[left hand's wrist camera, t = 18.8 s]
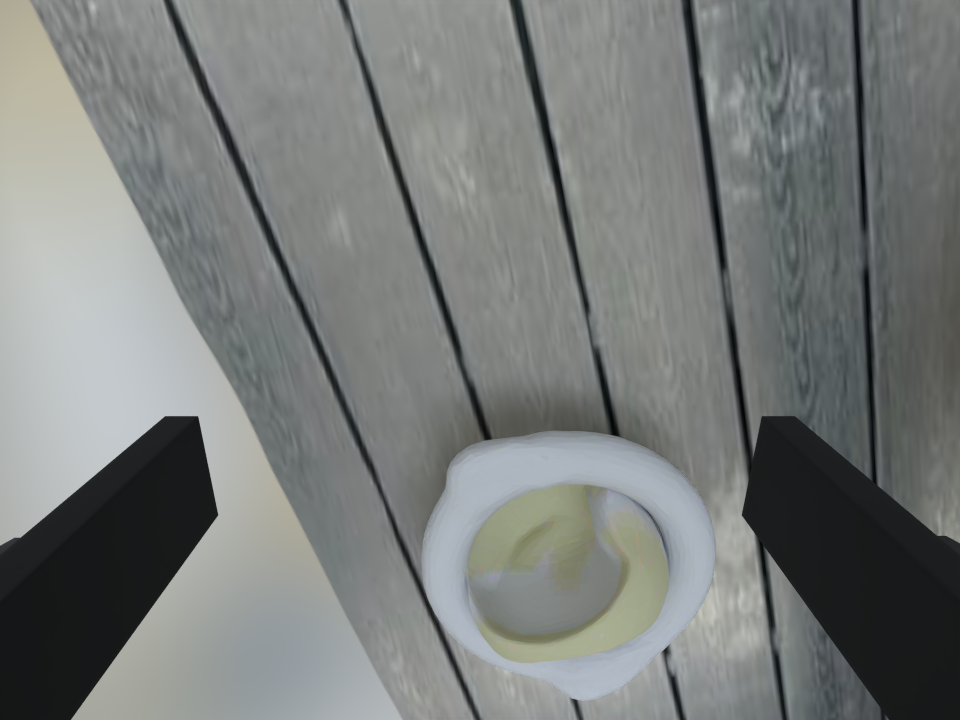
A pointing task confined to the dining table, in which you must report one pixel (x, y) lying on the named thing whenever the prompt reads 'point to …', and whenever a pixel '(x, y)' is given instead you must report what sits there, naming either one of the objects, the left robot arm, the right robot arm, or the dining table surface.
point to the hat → (567, 557)
